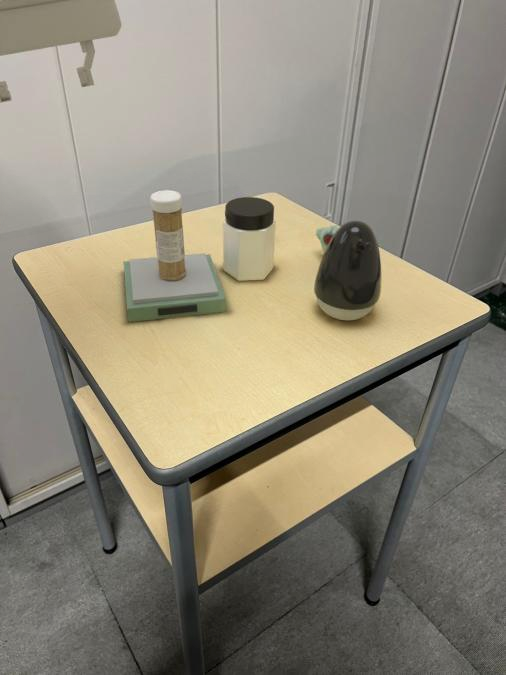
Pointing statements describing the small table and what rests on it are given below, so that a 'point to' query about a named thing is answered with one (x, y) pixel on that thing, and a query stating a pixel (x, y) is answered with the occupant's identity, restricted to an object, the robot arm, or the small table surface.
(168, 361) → the small table surface
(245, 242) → the jar
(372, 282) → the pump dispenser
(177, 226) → the sprinkles bottle
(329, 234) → the robot head
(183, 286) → the kitchen scale
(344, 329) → the small table surface
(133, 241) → the small table surface
